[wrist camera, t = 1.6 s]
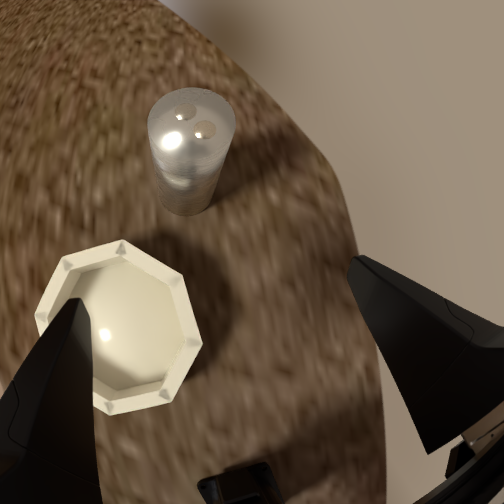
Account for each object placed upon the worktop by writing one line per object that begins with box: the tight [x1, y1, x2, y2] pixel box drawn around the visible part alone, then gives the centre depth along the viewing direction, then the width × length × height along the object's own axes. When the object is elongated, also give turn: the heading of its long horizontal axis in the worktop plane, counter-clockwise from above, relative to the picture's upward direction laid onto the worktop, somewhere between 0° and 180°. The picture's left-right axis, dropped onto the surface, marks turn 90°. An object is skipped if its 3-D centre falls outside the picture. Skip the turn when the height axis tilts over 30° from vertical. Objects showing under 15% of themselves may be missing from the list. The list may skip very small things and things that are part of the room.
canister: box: [148, 88, 236, 216], centre depth 18 cm, size 4×4×10 cm
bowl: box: [34, 240, 203, 415], centre depth 19 cm, size 11×11×4 cm
